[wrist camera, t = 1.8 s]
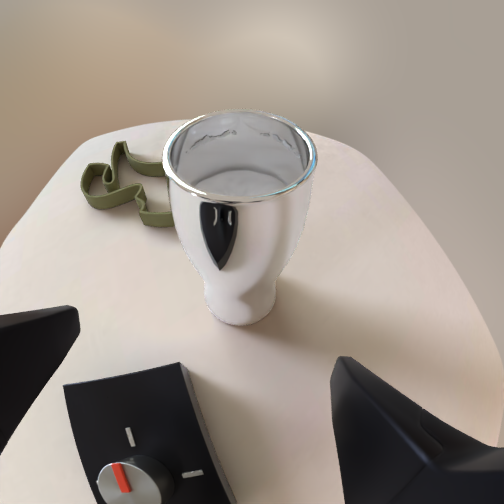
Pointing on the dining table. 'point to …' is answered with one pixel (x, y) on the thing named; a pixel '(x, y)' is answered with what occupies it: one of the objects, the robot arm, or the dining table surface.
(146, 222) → the cookie cutter
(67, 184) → the dining table surface
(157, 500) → the hob knob
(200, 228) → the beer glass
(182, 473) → the hob panel
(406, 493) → the robot arm
